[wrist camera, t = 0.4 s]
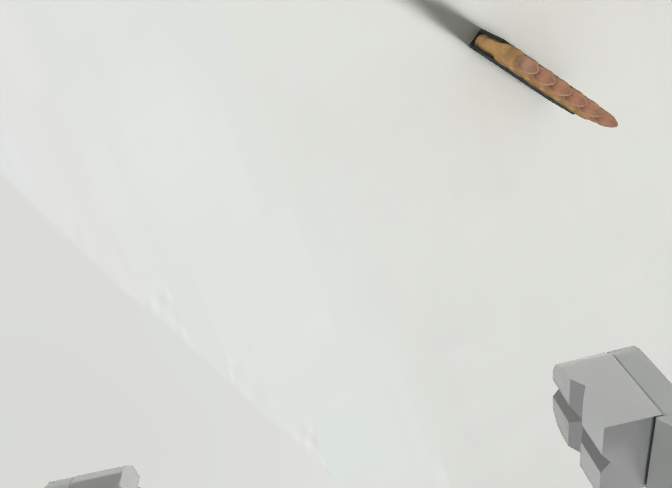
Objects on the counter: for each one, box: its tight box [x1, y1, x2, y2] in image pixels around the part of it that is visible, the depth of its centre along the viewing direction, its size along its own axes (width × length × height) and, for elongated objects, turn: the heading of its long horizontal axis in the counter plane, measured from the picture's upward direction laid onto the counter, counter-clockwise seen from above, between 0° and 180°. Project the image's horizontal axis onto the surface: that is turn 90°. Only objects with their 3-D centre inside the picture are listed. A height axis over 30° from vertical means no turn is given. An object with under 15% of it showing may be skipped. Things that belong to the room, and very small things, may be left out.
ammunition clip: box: [470, 29, 618, 128], centre depth 49 cm, size 11×2×12 cm, turn 59°
